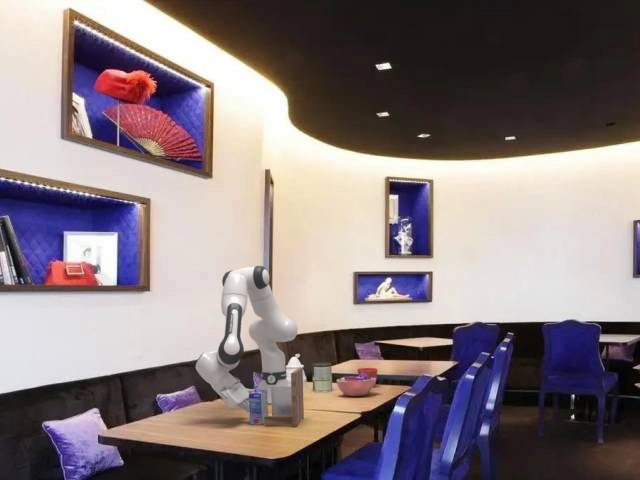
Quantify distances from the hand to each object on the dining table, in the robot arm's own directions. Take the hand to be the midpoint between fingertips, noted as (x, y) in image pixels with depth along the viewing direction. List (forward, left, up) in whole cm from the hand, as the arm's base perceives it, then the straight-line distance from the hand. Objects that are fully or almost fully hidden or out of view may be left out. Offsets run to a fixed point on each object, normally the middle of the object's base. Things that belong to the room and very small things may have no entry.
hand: (250, 411), depth 241 cm
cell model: (-63, +37, -5) cm, 73 cm away
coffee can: (-79, +18, -5) cm, 81 cm away
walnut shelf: (0, +13, -4) cm, 14 cm away
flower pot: (-91, +41, -5) cm, 100 cm away
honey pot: (-92, +1, -5) cm, 92 cm away
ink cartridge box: (0, +3, -5) cm, 6 cm away
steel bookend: (-8, +13, -4) cm, 16 cm away
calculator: (-59, -21, -5) cm, 63 cm away
